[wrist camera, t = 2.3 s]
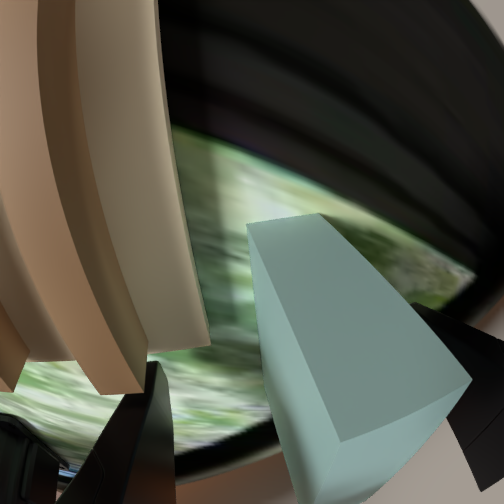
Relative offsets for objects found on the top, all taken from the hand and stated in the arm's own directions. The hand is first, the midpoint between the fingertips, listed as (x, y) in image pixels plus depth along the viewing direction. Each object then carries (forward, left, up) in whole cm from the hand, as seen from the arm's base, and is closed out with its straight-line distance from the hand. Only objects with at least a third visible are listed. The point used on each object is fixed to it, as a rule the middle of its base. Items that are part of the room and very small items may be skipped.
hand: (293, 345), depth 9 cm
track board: (-7, +6, -1) cm, 9 cm away
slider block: (0, 0, -1) cm, 1 cm away
